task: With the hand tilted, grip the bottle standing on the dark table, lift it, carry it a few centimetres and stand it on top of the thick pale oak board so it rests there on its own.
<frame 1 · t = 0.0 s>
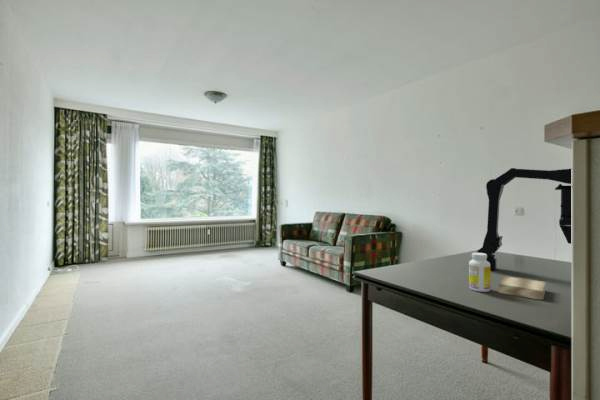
hand: (570, 241, 123), 15 cm above the table, tool pointing down, fingers open, 9 cm apart
supplement bottle: (479, 290, 113), on the table
oak board: (522, 291, 110), on the table
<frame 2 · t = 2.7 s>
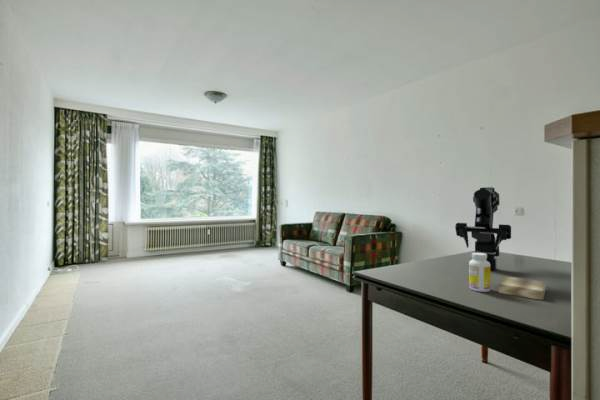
hand: (481, 248, 119), 14 cm above the table, tool tilted 45°, fingers open, 9 cm apart
nothing on the table moved.
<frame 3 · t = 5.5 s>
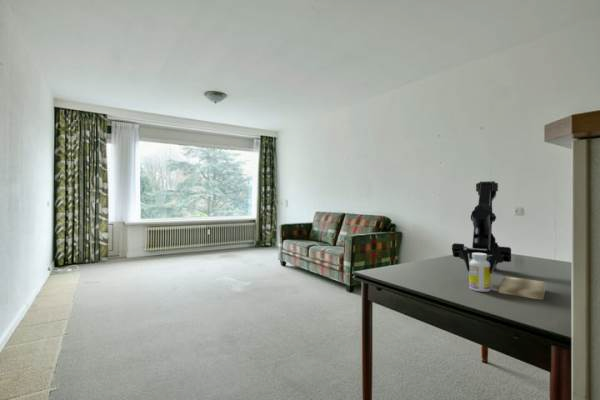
hand: (479, 271, 112), 7 cm above the table, tool tilted 45°, fingers closed on supplement bottle, 7 cm apart
supplement bottle: (479, 290, 113), on the table, touching gripper
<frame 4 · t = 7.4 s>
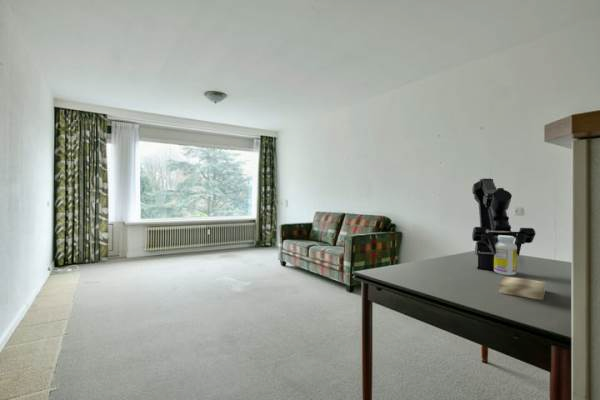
hand: (506, 254, 109), 13 cm above the table, tool tilted 45°, fingers closed on supplement bottle, 7 cm apart
supplement bottle: (504, 273, 111), point 6 cm above the table, touching gripper
when the fingers open (10 cm above the table, at t = 9.4 s): supplement bottle stays where it is, resting on oak board.
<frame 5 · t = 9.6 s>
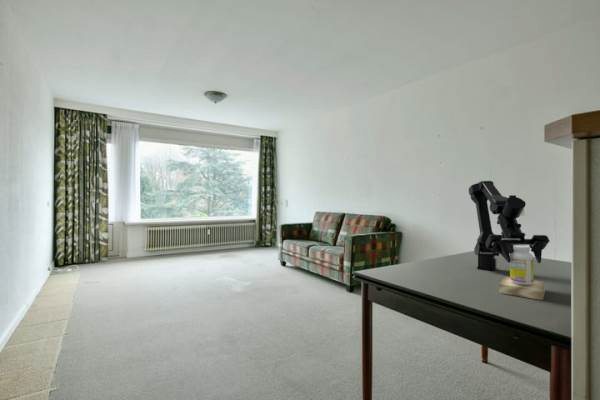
hand: (524, 262, 108), 11 cm above the table, tool tilted 45°, fingers open, 9 cm apart
supplement bottle: (521, 283, 110), point 3 cm above the table, touching oak board
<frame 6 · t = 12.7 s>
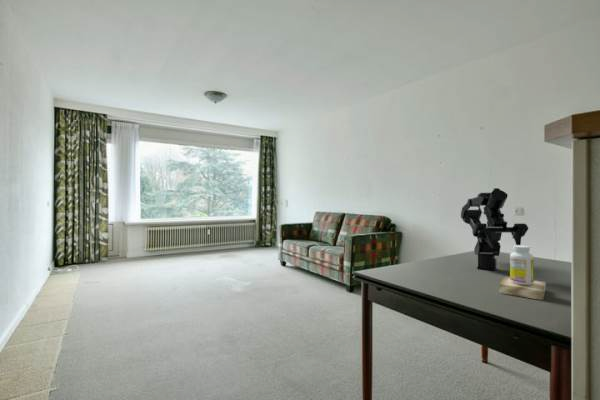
hand: (505, 247, 122), 13 cm above the table, tool tilted 45°, fingers open, 9 cm apart
nothing on the table moved.
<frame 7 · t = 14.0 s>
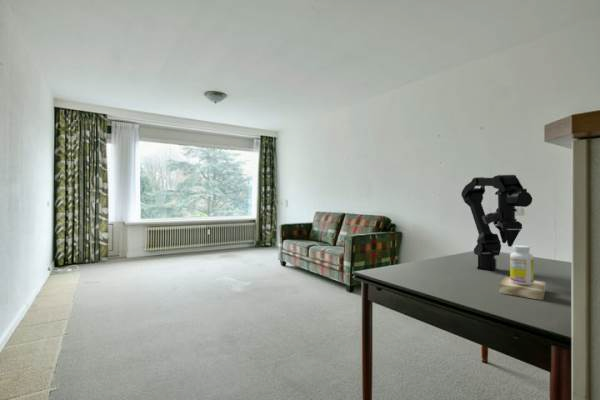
hand: (506, 244, 128), 13 cm above the table, tool pointing down, fingers open, 9 cm apart
nothing on the table moved.
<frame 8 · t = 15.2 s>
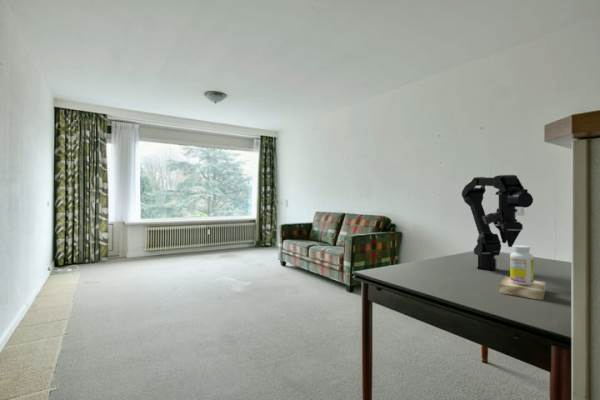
hand: (506, 244, 128), 13 cm above the table, tool pointing down, fingers open, 9 cm apart
nothing on the table moved.
at the end: supplement bottle 0.3 cm from the oak board (horizontally); supplement bottle tilted 0°; supplement bottle touching oak board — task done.
